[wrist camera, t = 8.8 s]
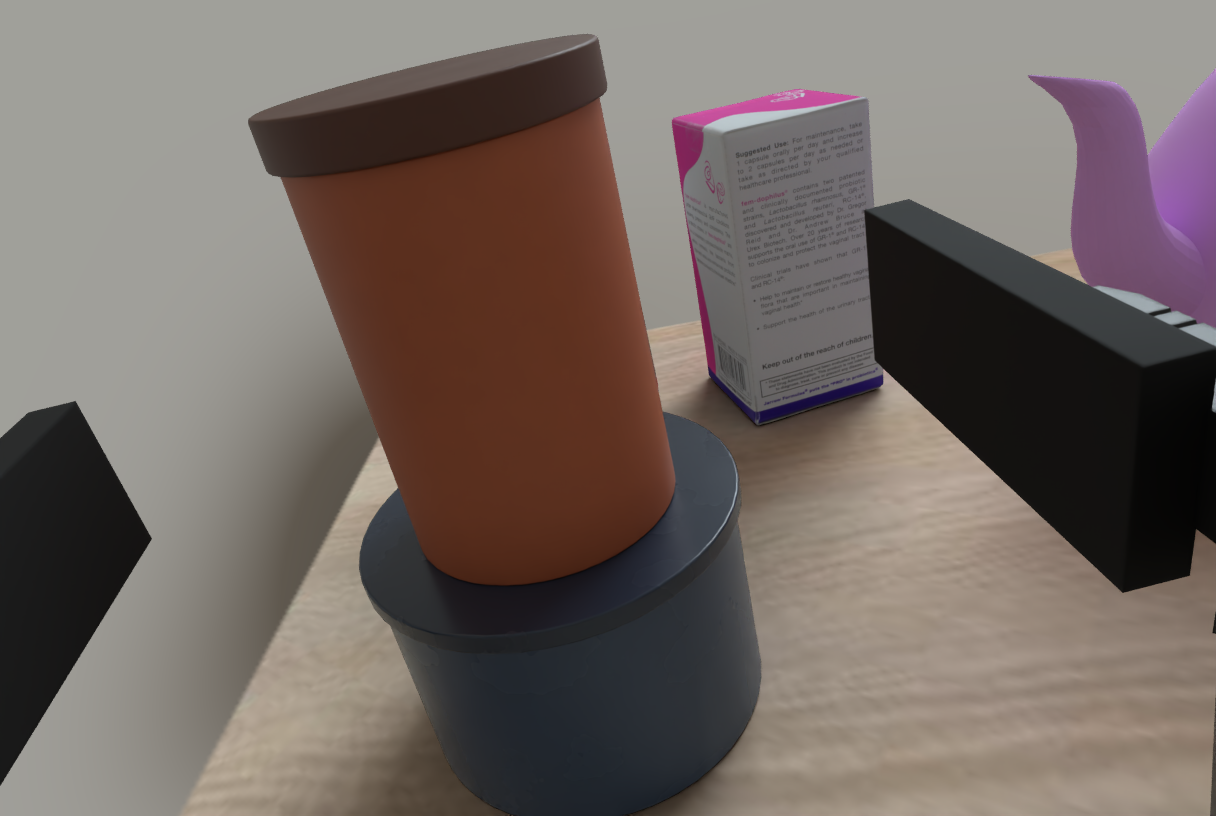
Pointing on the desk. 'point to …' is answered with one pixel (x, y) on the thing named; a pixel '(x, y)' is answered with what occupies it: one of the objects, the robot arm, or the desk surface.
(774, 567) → the desk surface
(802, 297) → the supplement box
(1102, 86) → the teapot
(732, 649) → the tin
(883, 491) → the desk surface
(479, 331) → the canister
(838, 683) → the desk surface
